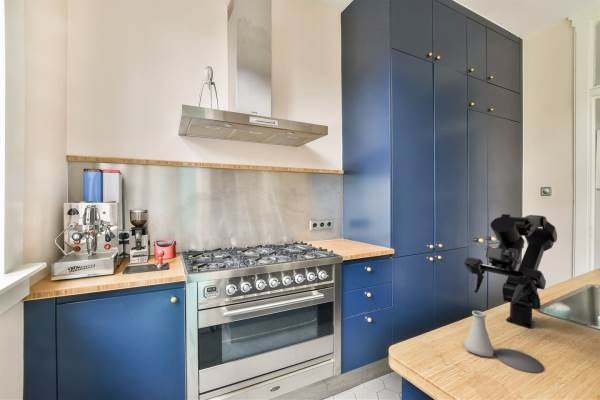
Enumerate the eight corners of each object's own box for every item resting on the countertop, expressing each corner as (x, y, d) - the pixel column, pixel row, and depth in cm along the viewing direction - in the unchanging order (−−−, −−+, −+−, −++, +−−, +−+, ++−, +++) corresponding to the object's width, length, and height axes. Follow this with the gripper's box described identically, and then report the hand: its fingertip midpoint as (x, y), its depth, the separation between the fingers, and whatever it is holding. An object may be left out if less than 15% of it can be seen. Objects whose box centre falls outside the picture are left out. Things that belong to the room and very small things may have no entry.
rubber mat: (501, 345, 75) (501, 344, 75) (546, 362, 68) (546, 361, 68) (489, 358, 69) (489, 357, 69) (538, 378, 62) (538, 377, 62)
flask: (463, 352, 72) (464, 315, 71) (461, 339, 78) (462, 305, 78) (496, 360, 68) (497, 321, 68) (492, 346, 75) (493, 310, 74)
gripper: (466, 232, 86) (448, 274, 81) (542, 241, 70) (527, 294, 65) (478, 251, 91) (462, 292, 86) (551, 264, 75) (538, 315, 70)
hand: (493, 297), depth 77 cm, fingers open, 9 cm apart
